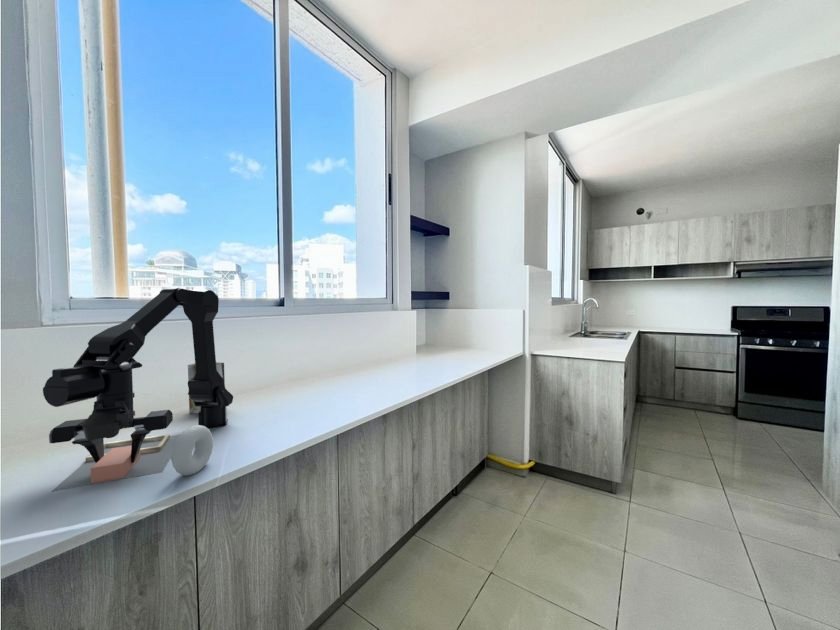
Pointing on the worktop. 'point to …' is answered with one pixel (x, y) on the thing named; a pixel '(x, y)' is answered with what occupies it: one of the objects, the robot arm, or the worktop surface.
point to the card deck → (113, 465)
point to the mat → (143, 466)
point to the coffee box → (190, 376)
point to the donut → (184, 447)
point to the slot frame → (142, 450)
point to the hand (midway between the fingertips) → (117, 464)
